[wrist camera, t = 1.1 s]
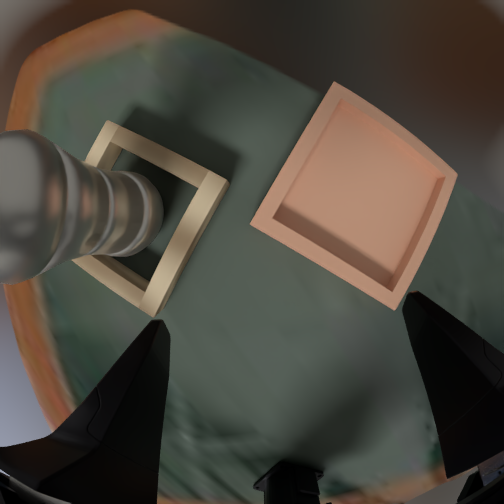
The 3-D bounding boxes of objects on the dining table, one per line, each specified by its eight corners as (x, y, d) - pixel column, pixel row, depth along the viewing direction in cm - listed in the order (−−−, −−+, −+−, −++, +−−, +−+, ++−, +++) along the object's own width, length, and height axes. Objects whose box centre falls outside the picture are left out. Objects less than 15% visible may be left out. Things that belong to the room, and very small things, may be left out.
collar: (163, 308, 23) (153, 317, 21) (66, 241, 23) (51, 243, 20) (230, 184, 22) (226, 179, 20) (119, 128, 22) (107, 120, 19)
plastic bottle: (95, 232, 23) (-108, 254, 3) (126, 164, 22) (-73, 88, 2) (149, 267, 23) (-63, 363, 3) (185, 195, 22) (-40, 118, 2)
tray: (385, 304, 23) (394, 310, 21) (250, 224, 22) (249, 224, 20) (445, 176, 22) (457, 174, 20) (328, 91, 21) (334, 81, 19)
